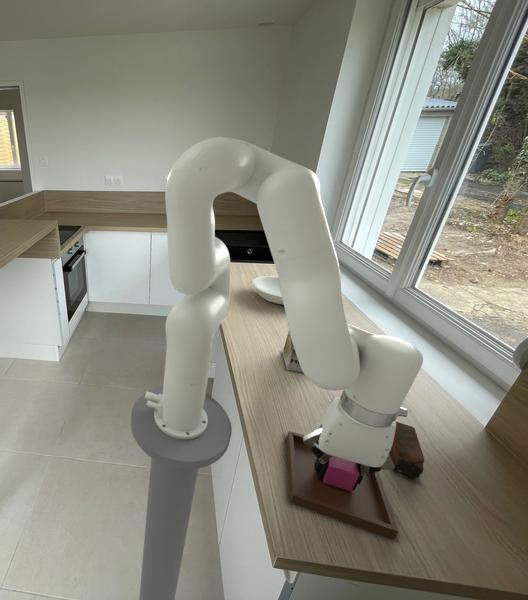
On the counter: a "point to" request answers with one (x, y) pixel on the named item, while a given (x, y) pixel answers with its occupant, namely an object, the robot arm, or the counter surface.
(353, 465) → the mulberry cube
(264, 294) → the soup bowl
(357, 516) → the tray
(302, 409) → the counter surface
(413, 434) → the brick
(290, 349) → the coffee box
